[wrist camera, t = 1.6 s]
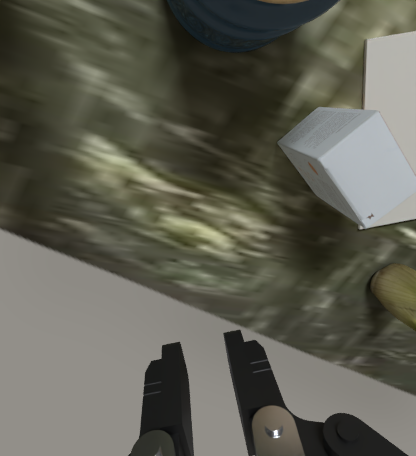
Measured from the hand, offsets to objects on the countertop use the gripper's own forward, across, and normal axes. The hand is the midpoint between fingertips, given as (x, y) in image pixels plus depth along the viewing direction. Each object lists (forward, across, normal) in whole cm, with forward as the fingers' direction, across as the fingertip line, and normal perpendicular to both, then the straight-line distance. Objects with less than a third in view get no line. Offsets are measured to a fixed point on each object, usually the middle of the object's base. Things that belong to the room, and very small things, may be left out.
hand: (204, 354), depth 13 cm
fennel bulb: (+23, -24, +16) cm, 37 cm away
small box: (+23, -15, -2) cm, 28 cm away
